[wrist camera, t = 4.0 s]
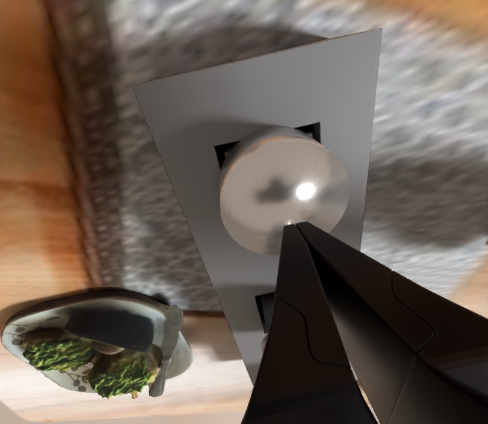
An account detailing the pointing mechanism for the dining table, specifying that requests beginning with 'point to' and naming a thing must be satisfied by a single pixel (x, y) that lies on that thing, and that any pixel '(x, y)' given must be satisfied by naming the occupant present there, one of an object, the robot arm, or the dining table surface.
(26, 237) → the dining table surface
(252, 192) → the plunger
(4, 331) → the salad plate
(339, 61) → the console
